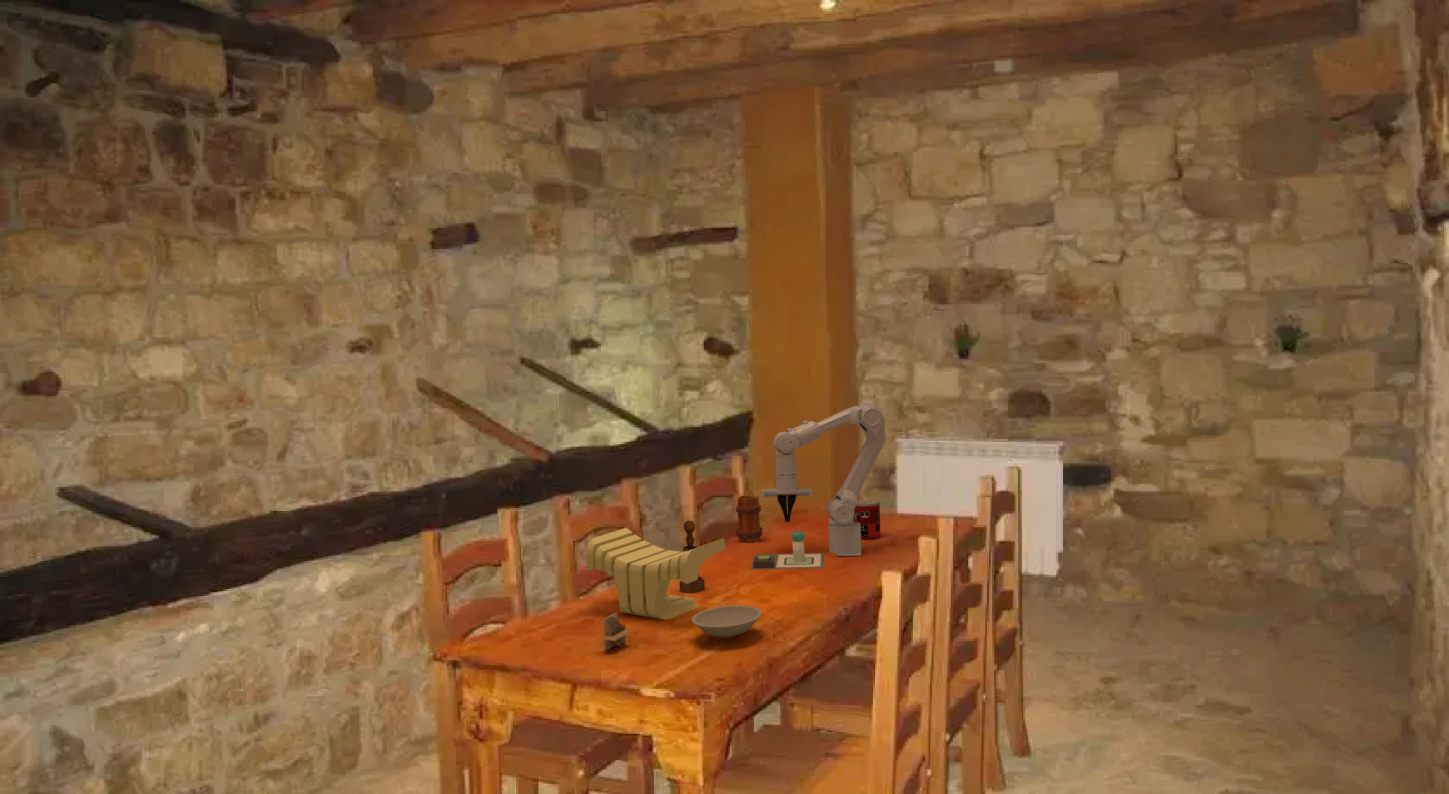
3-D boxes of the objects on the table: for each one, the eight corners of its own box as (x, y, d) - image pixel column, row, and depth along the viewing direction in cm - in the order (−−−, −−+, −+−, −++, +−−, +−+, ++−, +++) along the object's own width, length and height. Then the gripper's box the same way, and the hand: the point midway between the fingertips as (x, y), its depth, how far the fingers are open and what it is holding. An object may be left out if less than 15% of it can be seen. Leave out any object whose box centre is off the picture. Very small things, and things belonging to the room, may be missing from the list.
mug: (763, 545, 345) (761, 496, 344) (736, 546, 345) (734, 497, 344) (762, 535, 360) (760, 487, 358) (736, 536, 360) (734, 488, 359)
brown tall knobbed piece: (701, 593, 293) (698, 523, 292) (677, 592, 294) (673, 523, 293) (707, 586, 300) (704, 518, 298) (683, 586, 301) (679, 518, 299)
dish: (724, 623, 265) (723, 602, 265) (776, 631, 257) (775, 609, 257) (677, 643, 251) (676, 621, 251) (731, 653, 243) (730, 630, 242)
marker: (802, 558, 321) (801, 530, 320) (806, 561, 318) (805, 533, 317) (791, 560, 320) (790, 532, 320) (794, 562, 317) (793, 534, 316)
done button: (769, 562, 317) (769, 555, 317) (769, 565, 314) (768, 558, 314) (758, 563, 318) (758, 556, 318) (758, 565, 315) (757, 558, 315)
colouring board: (824, 555, 328) (824, 546, 328) (824, 570, 311) (823, 561, 310) (754, 557, 330) (754, 548, 330) (750, 572, 313) (750, 562, 312)
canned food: (849, 537, 352) (848, 501, 351) (871, 533, 355) (870, 498, 354) (862, 541, 345) (861, 505, 344) (885, 538, 348) (884, 502, 347)
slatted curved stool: (589, 612, 280) (585, 540, 278) (629, 596, 293) (626, 527, 291) (688, 628, 263) (685, 551, 261) (727, 610, 276) (724, 537, 274)
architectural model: (632, 646, 252) (630, 613, 252) (615, 656, 246) (613, 622, 245) (618, 645, 254) (616, 612, 253) (602, 654, 247) (600, 620, 247)
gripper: (811, 471, 330) (813, 518, 331) (761, 472, 331) (763, 519, 332) (811, 475, 323) (812, 523, 324) (760, 476, 324) (761, 523, 325)
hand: (787, 521), depth 328 cm, fingers closed
